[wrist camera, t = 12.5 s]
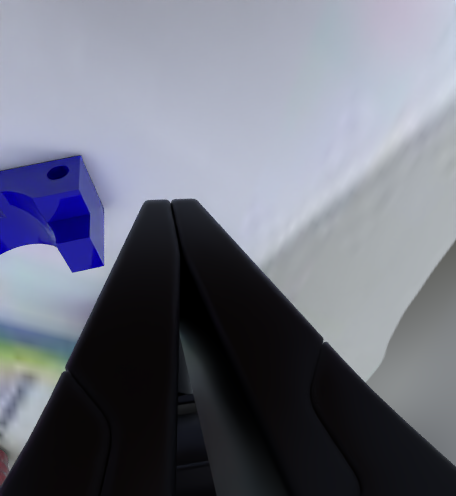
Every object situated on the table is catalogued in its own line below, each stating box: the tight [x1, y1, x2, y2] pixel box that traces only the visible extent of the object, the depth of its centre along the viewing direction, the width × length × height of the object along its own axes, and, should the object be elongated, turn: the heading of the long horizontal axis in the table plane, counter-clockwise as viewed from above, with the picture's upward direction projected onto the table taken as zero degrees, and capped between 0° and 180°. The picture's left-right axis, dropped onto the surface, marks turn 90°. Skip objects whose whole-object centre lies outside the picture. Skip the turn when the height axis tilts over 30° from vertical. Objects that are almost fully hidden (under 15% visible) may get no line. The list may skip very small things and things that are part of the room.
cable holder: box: [0, 155, 104, 273], centre depth 20 cm, size 8×4×4 cm, turn 96°
